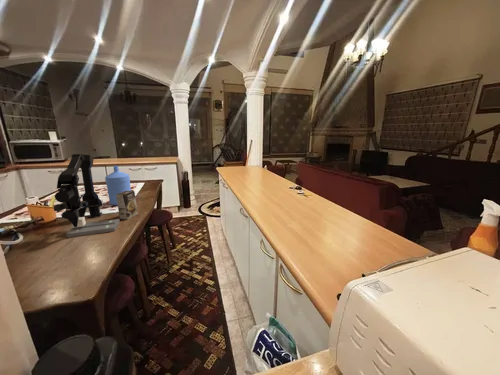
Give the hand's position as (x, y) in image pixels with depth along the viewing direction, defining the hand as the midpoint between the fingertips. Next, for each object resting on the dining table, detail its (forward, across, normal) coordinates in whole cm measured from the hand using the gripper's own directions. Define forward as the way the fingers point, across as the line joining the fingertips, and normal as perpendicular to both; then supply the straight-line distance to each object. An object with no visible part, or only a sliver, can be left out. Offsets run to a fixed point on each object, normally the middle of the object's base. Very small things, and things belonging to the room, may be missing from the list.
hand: (79, 223), depth 120 cm
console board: (+4, 0, +7) cm, 8 cm away
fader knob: (+2, 0, 0) cm, 2 cm away
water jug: (+5, -47, +12) cm, 49 cm away
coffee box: (+5, -14, +22) cm, 26 cm away
